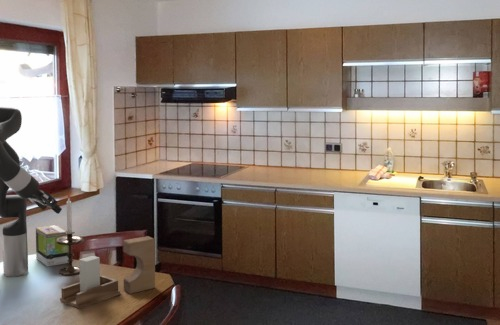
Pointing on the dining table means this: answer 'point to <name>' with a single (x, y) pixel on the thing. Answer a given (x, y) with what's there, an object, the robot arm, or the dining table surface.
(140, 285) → the decorative block
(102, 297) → the tray
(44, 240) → the tea box
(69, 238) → the candlestick
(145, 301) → the dining table surface
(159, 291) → the dining table surface
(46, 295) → the dining table surface
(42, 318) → the dining table surface
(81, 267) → the white rectangular block
